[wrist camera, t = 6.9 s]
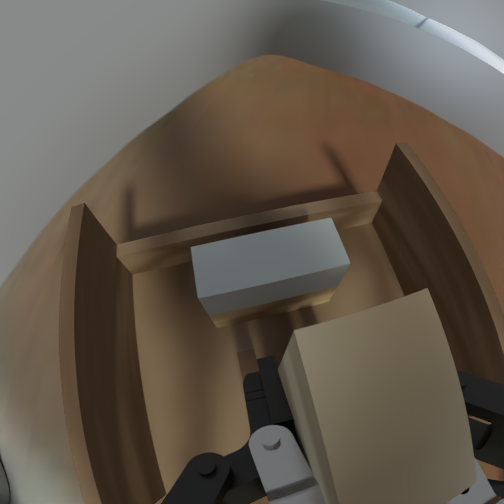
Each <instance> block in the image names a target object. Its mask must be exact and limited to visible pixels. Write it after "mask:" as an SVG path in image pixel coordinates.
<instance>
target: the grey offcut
mask: <svg viewBox="0 0 504 504" xmlns="http://www.w3.org/2000/svg"><path fill="white" fill-rule="evenodd" d="M191 254H192V261H193V268H194V275H195V282H196V289H197V295H198V299H199V301H200V302H201V304H202V306H203V307H204V309H205V310H206V312H207V313H208V315H209V316H210V315H215V314H220V313H225V312H229V311H234V310H239V309H243V308H248V307H252V306H257V305H261V304H265V303H270V302H274V301H278V300H282V299H287V298H291V297H295V296H299V295H303V294H307V293H311V292H315V291H319V290H322V289H326V288H330V287H334V286H338V285H339V283H340V281H341V280H342V278H343V276H344V274H345V272H346V271H347V269H348V267H349V265H350V261H349V258H348V256H347V253H346V251H345V248H344V246H343V244H342V241H341V239H340V237H339V234H338V232H337V230H336V227H335V225H334V223H333V220H332V218H326V219H321V220H316V221H311V222H306V223H301V224H296V225H292V226H287V227H282V228H277V229H272V230H267V231H263V232H258V233H253V234H249V235H244V236H239V237H235V238H230V239H225V240H221V241H216V242H211V243H207V244H202V245H198V246H193V247H191Z"/></svg>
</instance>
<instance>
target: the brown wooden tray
mask: <svg viewBox="0 0 504 504" xmlns="http://www.w3.org/2000/svg"><path fill="white" fill-rule="evenodd" d="M326 218H332V220H333V223H334V225H335V227H336V230H337V232H338V234H339V237H340V239H341V241H342V244H343V246H344V248H345V251H346V253H347V256H348V258H349V261H350V265H349V267H348V269H347V271H346V272H345V274H344V276H343V278H342V280H341V281H340V283H339V285H338V287H337V288H336V290H335V292H334V293H333V295H332V297H331V299H330V300H329V302H325V303H321V304H318V305H314V306H310V307H306V308H302V309H298V310H294V311H290V312H286V313H282V314H278V315H274V316H270V317H265V318H261V319H257V320H252V321H248V322H243V323H239V324H234V325H229V326H225V327H220V328H217V327H216V326H215V324H214V323H213V321H212V320H211V318H210V317H209V315H208V313H207V312H206V310H205V309H204V307H203V306H202V304H201V302H200V301H199V299H198V295H197V289H196V282H195V275H194V268H193V261H192V254H191V247H193V246H198V245H202V244H207V243H211V242H216V241H221V240H225V239H230V238H235V237H239V236H244V235H249V234H253V233H258V232H263V231H267V230H272V229H277V228H282V227H287V226H292V225H296V224H301V223H306V222H311V221H316V220H321V219H326ZM426 288H428V290H429V293H430V295H431V298H432V300H433V303H434V305H435V308H436V310H437V313H438V316H439V318H440V321H441V324H442V327H443V330H444V332H445V335H446V338H447V341H448V344H449V347H450V351H451V354H452V357H453V360H454V364H455V367H456V371H462V372H466V373H469V374H472V375H475V376H478V377H481V378H484V379H487V380H490V381H493V382H496V383H499V384H502V385H504V316H503V313H502V310H501V307H500V305H499V302H498V299H497V297H496V294H495V292H494V289H493V287H492V284H491V282H490V280H489V278H488V275H487V273H486V271H485V269H484V266H483V264H482V262H481V260H480V258H479V256H478V254H477V252H476V250H475V248H474V246H473V244H472V242H471V240H470V238H469V236H468V234H467V233H466V231H465V229H464V227H463V225H462V224H461V222H460V220H459V218H458V217H457V215H456V213H455V211H454V210H453V208H452V206H451V205H450V203H449V202H448V200H447V198H446V197H445V195H444V194H443V192H442V191H441V189H440V188H439V186H438V185H437V183H436V182H435V180H434V179H433V177H432V176H431V174H430V173H429V171H428V170H427V169H426V167H425V166H424V164H423V163H422V162H421V160H420V159H419V158H418V156H417V155H416V154H415V152H414V151H413V150H412V148H411V147H410V146H409V145H408V143H396V145H395V147H394V150H393V152H392V155H391V158H390V160H389V163H388V165H387V168H386V170H385V173H384V175H383V177H382V180H381V182H380V185H379V187H378V189H377V191H373V192H367V193H361V194H355V195H349V196H343V197H338V198H332V199H326V200H321V201H315V202H310V203H305V204H299V205H294V206H289V207H284V208H278V209H273V210H268V211H263V212H258V213H254V214H249V215H244V216H239V217H234V218H230V219H225V220H220V221H216V222H211V223H207V224H202V225H198V226H193V227H189V228H184V229H180V230H176V231H171V232H167V233H163V234H159V235H155V236H150V237H146V238H142V239H138V240H134V241H130V242H126V243H122V244H118V245H117V244H116V243H115V242H114V241H113V239H112V238H111V237H110V236H109V234H108V233H107V232H106V231H105V229H104V228H103V227H102V226H101V224H100V223H99V222H98V220H97V219H96V218H95V216H94V215H93V214H92V212H91V211H90V210H89V208H88V207H87V206H86V204H85V203H83V204H80V205H77V206H74V207H72V208H71V213H70V218H69V224H68V230H67V236H66V243H65V250H64V258H63V268H62V278H61V291H60V311H59V354H60V373H61V386H62V396H63V405H64V413H65V420H66V426H67V432H68V437H69V443H70V448H71V452H72V457H73V461H74V466H75V470H76V474H77V477H78V481H79V485H80V488H81V491H82V495H83V498H84V501H85V504H155V503H156V502H157V501H159V500H160V499H161V498H162V497H163V496H165V495H166V494H168V493H169V491H170V490H171V488H172V487H173V485H174V484H175V482H176V481H177V479H178V478H179V476H180V474H181V473H182V471H183V470H184V468H185V467H186V465H187V463H188V462H189V461H190V460H191V459H192V458H193V457H195V456H197V455H199V454H202V453H208V452H213V453H217V454H220V455H222V456H226V455H228V454H230V453H232V452H235V451H237V450H239V449H240V448H242V447H243V446H244V445H245V444H246V443H247V441H248V439H249V437H250V426H249V420H248V414H247V408H246V401H245V395H244V389H243V381H244V379H245V376H246V374H249V373H253V372H258V371H259V367H258V363H257V359H259V358H264V357H268V356H272V355H274V356H275V359H276V362H277V365H278V368H279V366H280V363H281V361H282V358H283V356H284V354H285V351H286V349H287V346H288V344H289V341H290V339H291V336H292V334H293V331H294V330H297V329H301V328H305V327H308V326H312V325H316V324H319V323H323V322H326V321H330V320H333V319H337V318H340V317H343V316H347V315H350V314H353V313H357V312H360V311H363V310H366V309H369V308H372V307H375V306H378V305H381V304H384V303H387V302H390V301H393V300H396V299H399V298H402V297H404V296H407V295H410V294H413V293H415V292H418V291H421V290H424V289H426ZM467 416H472V415H469V414H467Z"/></svg>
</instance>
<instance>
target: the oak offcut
mask: <svg viewBox="0 0 504 504" xmlns="http://www.w3.org/2000/svg"><path fill="white" fill-rule="evenodd" d="M337 287H338V286H334V287H330V288H326V289H322V290H319V291H315V292H311V293H307V294H303V295H299V296H295V297H291V298H287V299H282V300H278V301H274V302H270V303H265V304H261V305H257V306H252V307H248V308H243V309H239V310H234V311H229V312H225V313H220V314H215V315H210V316H209V317H210V318H211V320H212V321H213V323H214V324H215V326H216V327H217V328H220V327H225V326H229V325H234V324H239V323H243V322H248V321H252V320H257V319H261V318H265V317H270V316H274V315H278V314H282V313H286V312H290V311H294V310H298V309H302V308H306V307H310V306H314V305H318V304H321V303H325V302H329V300H330V299H331V297H332V295H333V293H334V292H335V290H336V288H337Z"/></svg>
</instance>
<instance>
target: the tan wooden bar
mask: <svg viewBox="0 0 504 504" xmlns="http://www.w3.org/2000/svg"><path fill="white" fill-rule="evenodd" d="M278 373H279V376H280V379H281V382H282V385H283V388H284V391H285V394H286V397H287V400H288V403H289V406H290V409H291V412H292V415H293V418H294V423H295V430H296V436H297V442H298V446H299V448H300V450H301V452H302V454H303V456H304V458H305V459H306V461H307V463H308V465H309V467H310V469H311V470H312V472H313V475H314V478H315V479H316V480H317V481H318V483H319V486H320V488H321V491H322V494H323V497H324V500H325V502H326V504H445V503H447V502H449V501H450V500H452V499H453V498H455V497H456V496H458V495H459V494H460V493H462V492H463V491H465V490H466V489H467V488H469V487H470V486H472V485H473V484H474V483H475V482H476V470H475V461H474V452H473V445H472V439H471V433H470V427H469V422H468V416H467V411H466V407H465V402H464V398H463V394H462V390H461V386H460V382H459V378H458V374H457V371H456V367H455V364H454V360H453V357H452V354H451V351H450V347H449V344H448V341H447V338H446V335H445V332H444V330H443V327H442V324H441V321H440V318H439V316H438V313H437V310H436V308H435V305H434V303H433V300H432V298H431V295H430V293H429V290H428V288H426V289H424V290H421V291H418V292H415V293H413V294H410V295H407V296H404V297H402V298H399V299H396V300H393V301H390V302H387V303H384V304H381V305H378V306H375V307H372V308H369V309H366V310H363V311H360V312H357V313H353V314H350V315H347V316H343V317H340V318H337V319H333V320H330V321H326V322H323V323H319V324H316V325H312V326H308V327H305V328H301V329H297V330H294V331H293V334H292V336H291V339H290V341H289V344H288V346H287V349H286V351H285V354H284V356H283V358H282V361H281V363H280V366H279V368H278Z"/></svg>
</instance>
